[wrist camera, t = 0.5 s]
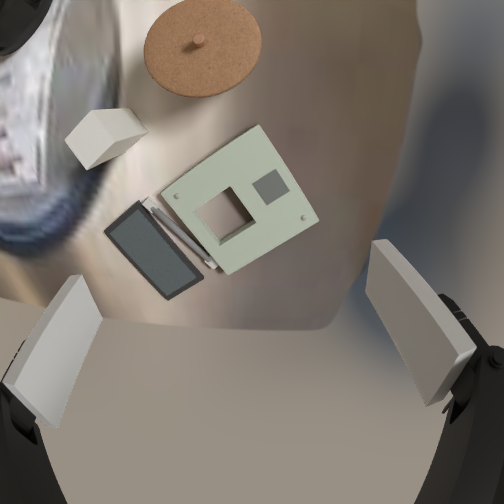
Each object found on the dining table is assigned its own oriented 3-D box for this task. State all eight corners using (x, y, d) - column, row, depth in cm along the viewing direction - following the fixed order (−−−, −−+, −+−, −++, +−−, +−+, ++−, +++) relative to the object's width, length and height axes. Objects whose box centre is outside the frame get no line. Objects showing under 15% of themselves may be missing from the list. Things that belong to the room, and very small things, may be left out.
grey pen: (143, 202, 34) (141, 204, 33) (148, 196, 34) (146, 198, 33) (214, 266, 39) (213, 270, 38) (219, 262, 39) (219, 265, 38)
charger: (106, 129, 29) (64, 140, 20) (129, 108, 28) (91, 110, 19) (124, 153, 31) (86, 170, 22) (148, 132, 30) (114, 142, 21)
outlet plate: (163, 190, 33) (160, 193, 32) (257, 123, 30) (258, 124, 29) (228, 269, 39) (227, 275, 38) (316, 216, 36) (319, 221, 35)
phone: (107, 227, 36) (103, 231, 35) (140, 198, 34) (137, 202, 33) (169, 295, 42) (167, 301, 41) (204, 274, 40) (203, 279, 39)
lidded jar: (169, 108, 29) (144, 108, 20) (159, 29, 24) (133, 5, 15) (261, 94, 28) (270, 87, 20) (250, 14, 23) (255, -18, 15)
